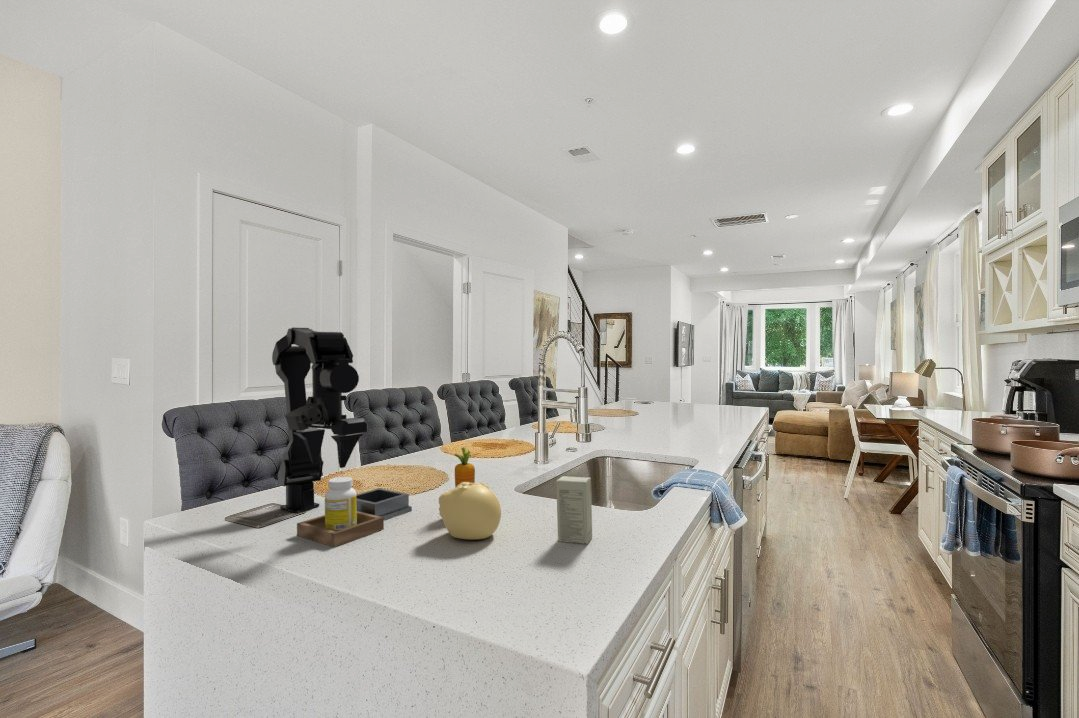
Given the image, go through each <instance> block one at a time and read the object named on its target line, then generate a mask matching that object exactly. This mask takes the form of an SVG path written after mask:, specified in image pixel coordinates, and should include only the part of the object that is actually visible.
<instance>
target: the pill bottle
mask: <svg viewBox="0 0 1079 718" xmlns="http://www.w3.org/2000/svg"><path fill="white" fill-rule="evenodd" d="M327 483H328V484H327V485H328V489H329V490H327V491H326V493H324V515H325V529H328V530H332V531H339V530H342V529H345V528H348V527H351V526H354V525H357V500H356V495H357V490H355V488H353V487H352V486H353V485H354V484H353V483H354V481H353V477H350V476H339V477H333V478H330V479H329V480H328V482H327Z"/></svg>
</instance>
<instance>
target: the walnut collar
mask: <svg viewBox="0 0 1079 718" xmlns="http://www.w3.org/2000/svg"><path fill="white" fill-rule="evenodd" d="M384 522H385V520H384V517H380V516H376V515H371V514H367V513H363V512H359V511H357V525H354V526H351V527H348V528H345V529H342V530H339V531H332V530H328V529H325V514H323V515H321V516H317V517H313V518H311V519H307V520H303V521H300V522H298V523H296V536H298V537H301V538H304V539H308V540H311V541H314V542H317V543H320V544H324V545H327V546H331V547H333V548H336V547H339V546H342V545H344V544H347V543H350V542H352V541H355V540H358V539H361V538H363V537H366V536H369V535H372V534H375V533H377V532H379V531H382V530H385V528H384V524H385V523H384Z"/></svg>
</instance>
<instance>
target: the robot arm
mask: <svg viewBox="0 0 1079 718" xmlns="http://www.w3.org/2000/svg"><path fill="white" fill-rule="evenodd" d="M344 335H345V334H344V333H343V332H341V331H340V332H339V331H316V330H314V329H312V328H309V327H294V326H293V327H291V328H288V329H287V331H286V334H285V335H284V336H283V337H282V338H280V339H279V340H277V341H276V342H275V344H274V348H273V350H272V354H271V357H272V358H271V360H272V364H273V366H274V367H275V374H276V375H277V376H278V378H279V379H280V380H281V381H282V382H283V384H284V393H285V406H286V407H285V408H286V414H285V415H284V417H285V421H286V423H287V431H288V441H289V442H288V444H287V446H286V448H285V450H284V452H283V454H282V460H281V462H280V466H279V470H278V472H277V481H278V484H279V485H281V486H282V487H285V504H283V505H280V506H279V509H280V508H281V510H284V509H285V510H284V511H288V510H289V511H288V512H292V511H293V513H299V512H298V511H300V512H302V511H307V510H310V509H313V508H318V507H319V506H320V503H319V502H315V488H314V485H315V484H314V482H321V480H322V475H323V470H324V469H323V467H324V460H323V458H322V455H321V452H322V446H323V441H324V436H325V434H326V433H325V432H326V430H331V432H332V433H333V435H330V437H331V439H333V441H334V442H335V443H336V448H337V449H336V450H337V460H338V466H339V468H340V469H344V468H345V467H346V466H347V464H348V461H349V459H350V457H351V456H352V454H353V451H354V449H355V447H356V445H357V444H358V442H359V440H360V438H361V437H363V436H364V433H367V432H369V431H368V422H367V420H366V419H365V418H363V417H361V418H360V417H350V418H349V417H347V414H343V402H344V401H347V395H343V394H347V393H350V392H352V391H354V390H355V389H356V388H357V386H358V384H359V381H360V375H359V373H358V371H357V370H356V368H355V367H354V366H353V365H351V364H353V363H354V361H353V357H354V354H353V352H352V350H351V347H350V344H349V343H348V340H347V338H346V337H345V336H344ZM293 345H294V346H293ZM311 364H312V365H311ZM310 370H311V371H312V372H311V373H312V375H311V378H312V383H311V384H312V396H308V398H307V391H306V378H307V375H308V374H309V372H310Z"/></svg>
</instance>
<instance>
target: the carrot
mask: <svg viewBox="0 0 1079 718" xmlns="http://www.w3.org/2000/svg"><path fill="white" fill-rule="evenodd" d="M461 452H462V455H460V454H459V453H457V452H456V453H454V456H455V457H457V458H458V459H459V461H460V462H461V463H458V464H456V465H455V466H454V488H456V486H457V485H458V484H460V483H462V482H469V483H476V482H475V481H476V480H475V479H476V478H475V477H476V471H475V469H476V468H475V466H474V464H473V463H470V462H469V460H470V455H471V451H470V449H469V450H467V449H466V447H461ZM468 462H469V463H468Z"/></svg>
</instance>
